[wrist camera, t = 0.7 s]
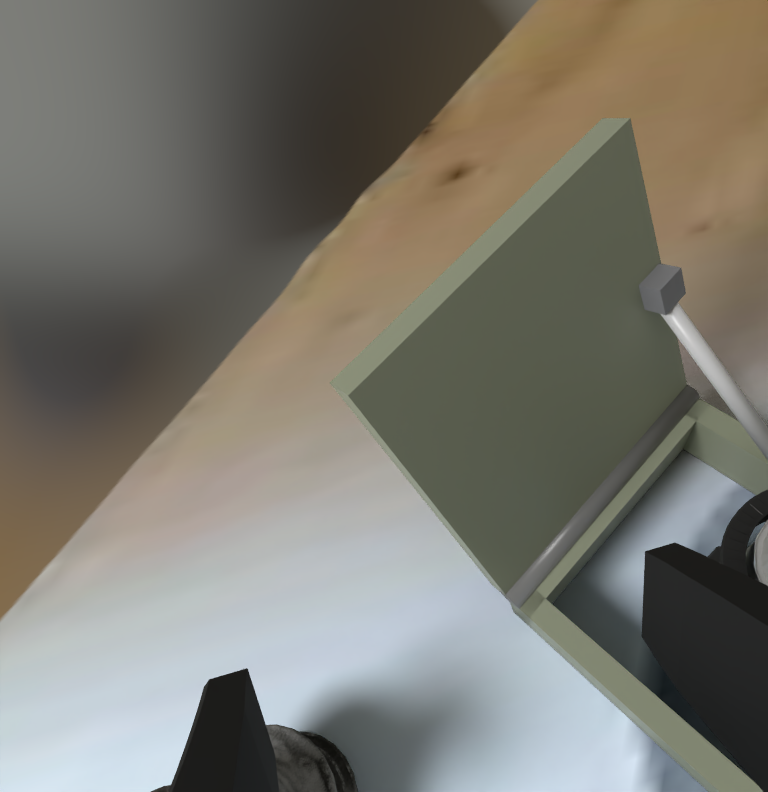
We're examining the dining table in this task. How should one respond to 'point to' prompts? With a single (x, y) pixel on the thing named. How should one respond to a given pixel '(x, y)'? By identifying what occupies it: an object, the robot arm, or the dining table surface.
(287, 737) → the grey tall tiered piece
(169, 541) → the dining table surface
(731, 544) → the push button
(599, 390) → the equipment case
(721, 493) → the dining table surface
